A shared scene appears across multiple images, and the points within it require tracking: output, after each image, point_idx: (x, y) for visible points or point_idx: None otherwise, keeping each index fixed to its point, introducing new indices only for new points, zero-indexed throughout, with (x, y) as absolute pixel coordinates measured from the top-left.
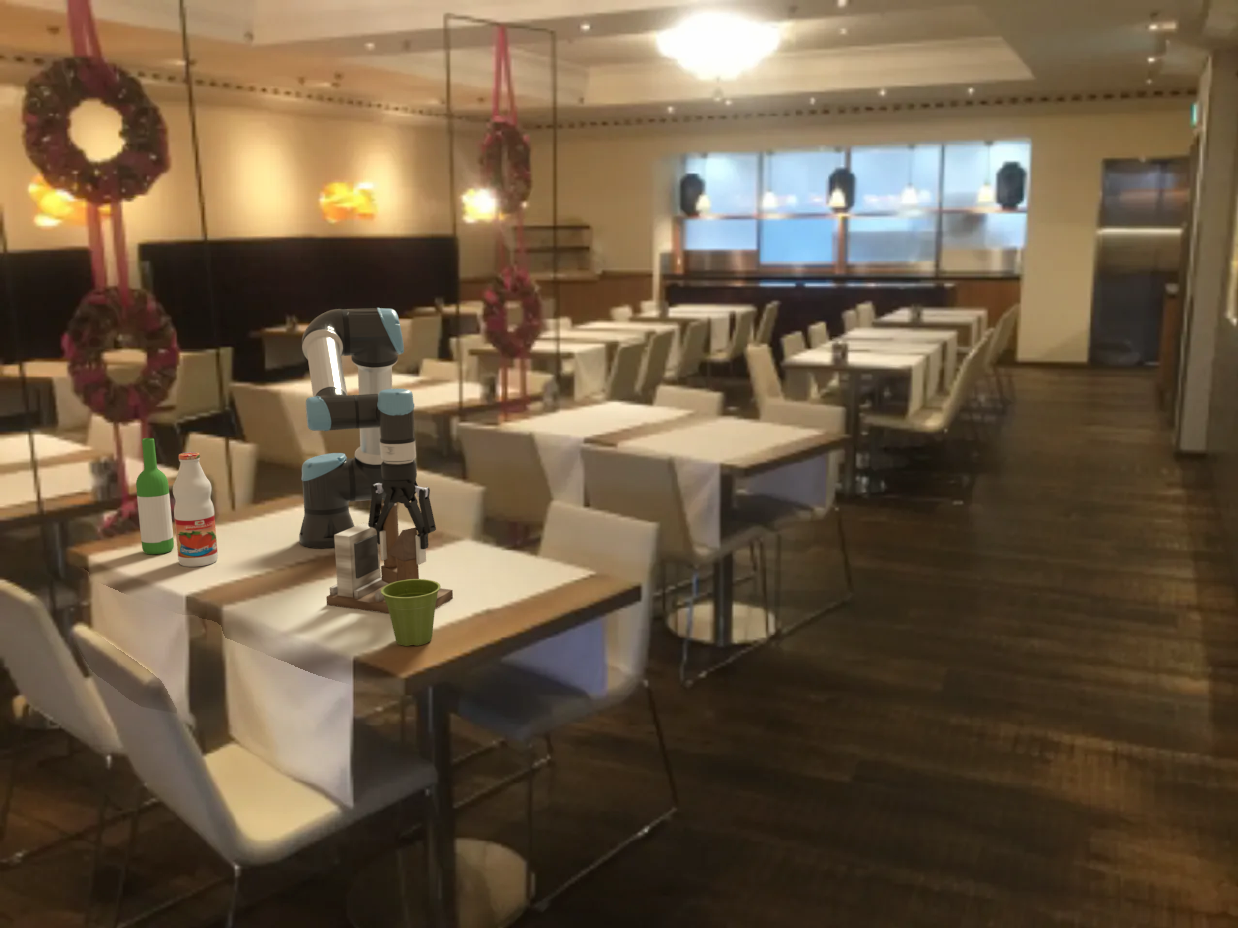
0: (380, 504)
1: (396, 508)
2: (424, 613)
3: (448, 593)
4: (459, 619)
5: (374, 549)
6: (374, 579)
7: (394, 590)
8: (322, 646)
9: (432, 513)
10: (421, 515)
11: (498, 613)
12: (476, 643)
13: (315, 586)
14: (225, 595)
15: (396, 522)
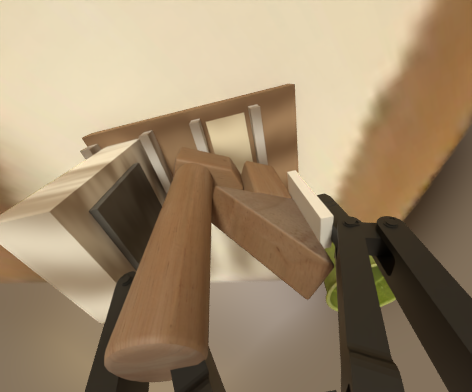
0: (124, 381)
1: (204, 325)
2: (376, 267)
3: (294, 102)
4: (350, 159)
5: (126, 198)
6: (145, 163)
7: (329, 281)
8: (256, 279)
9: (455, 283)
10: (372, 285)
11: (404, 102)
12: (403, 204)
13: (33, 180)
14: (8, 265)
15: (209, 262)
